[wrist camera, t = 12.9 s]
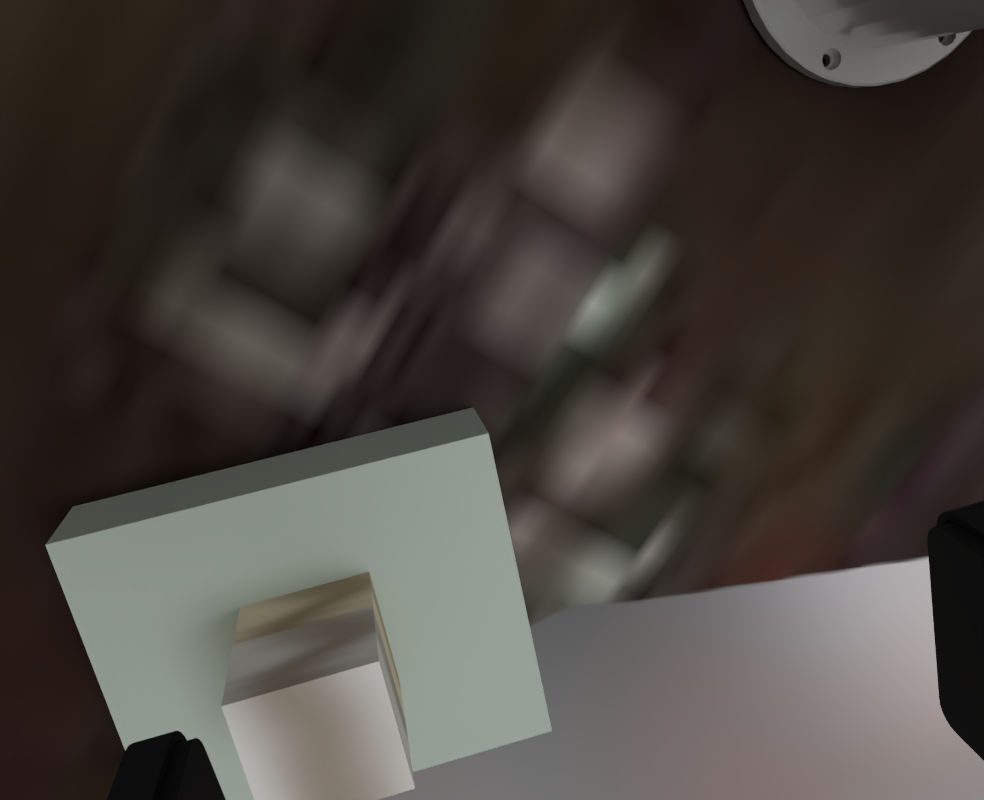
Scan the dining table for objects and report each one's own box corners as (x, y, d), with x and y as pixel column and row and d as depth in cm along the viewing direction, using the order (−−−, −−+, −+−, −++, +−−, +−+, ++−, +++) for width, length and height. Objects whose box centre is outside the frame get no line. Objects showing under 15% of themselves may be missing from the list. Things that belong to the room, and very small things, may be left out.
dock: (473, 407, 40) (488, 433, 37) (532, 682, 45) (552, 730, 41) (72, 506, 38) (45, 544, 35) (176, 784, 43) (162, 846, 39)
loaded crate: (369, 571, 37) (379, 661, 31) (399, 681, 39) (415, 788, 32) (239, 607, 37) (221, 706, 30) (276, 716, 38) (266, 833, 32)
